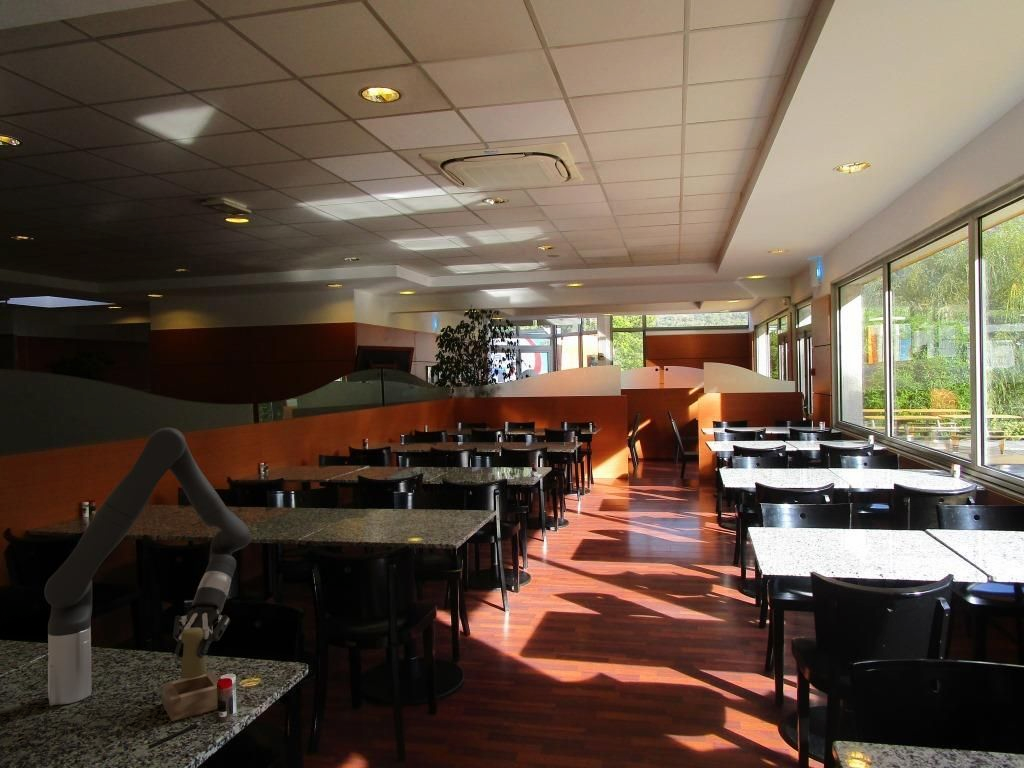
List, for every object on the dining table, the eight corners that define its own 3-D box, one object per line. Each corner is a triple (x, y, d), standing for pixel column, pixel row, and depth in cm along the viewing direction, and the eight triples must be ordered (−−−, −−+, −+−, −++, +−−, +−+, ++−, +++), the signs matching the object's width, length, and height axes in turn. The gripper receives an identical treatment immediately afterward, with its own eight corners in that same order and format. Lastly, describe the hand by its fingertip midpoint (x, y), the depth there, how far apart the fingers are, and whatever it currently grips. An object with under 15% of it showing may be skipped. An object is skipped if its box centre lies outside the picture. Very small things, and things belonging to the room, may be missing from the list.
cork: (196, 679, 168) (195, 633, 168) (174, 677, 169) (173, 632, 169) (212, 669, 174) (211, 625, 174) (191, 668, 175) (189, 624, 175)
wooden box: (171, 721, 163) (171, 699, 163) (162, 703, 172) (162, 683, 172) (225, 706, 170) (225, 686, 170) (213, 690, 179) (213, 671, 180)
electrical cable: (198, 725, 161) (198, 721, 161) (201, 726, 160) (201, 722, 160) (148, 749, 150) (147, 744, 150) (150, 750, 150) (150, 745, 150)
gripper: (180, 586, 180) (154, 650, 167) (233, 585, 179) (211, 649, 166) (191, 600, 185) (167, 663, 173) (243, 599, 184) (223, 663, 172)
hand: (189, 656), depth 170 cm, fingers closed on cork, 5 cm apart
